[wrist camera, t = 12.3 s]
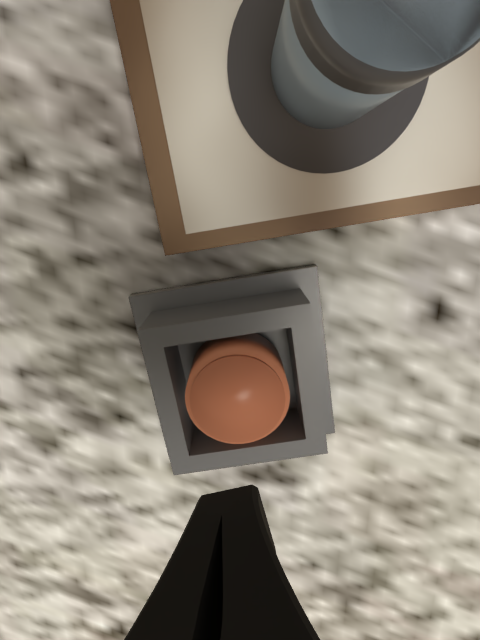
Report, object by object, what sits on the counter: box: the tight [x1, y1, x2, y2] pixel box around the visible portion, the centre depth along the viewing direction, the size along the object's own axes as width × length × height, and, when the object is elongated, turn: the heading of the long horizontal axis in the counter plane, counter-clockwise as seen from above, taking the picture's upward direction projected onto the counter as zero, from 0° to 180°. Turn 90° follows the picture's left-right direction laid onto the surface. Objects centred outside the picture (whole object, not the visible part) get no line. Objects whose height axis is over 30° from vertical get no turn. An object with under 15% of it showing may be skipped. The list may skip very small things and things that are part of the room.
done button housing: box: [129, 264, 335, 475], centre depth 17 cm, size 8×8×3 cm
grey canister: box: [271, 0, 480, 129], centre depth 10 cm, size 4×4×7 cm
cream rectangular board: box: [110, 0, 480, 256], centre depth 14 cm, size 14×11×1 cm
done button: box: [185, 333, 290, 444], centre depth 16 cm, size 4×4×2 cm
